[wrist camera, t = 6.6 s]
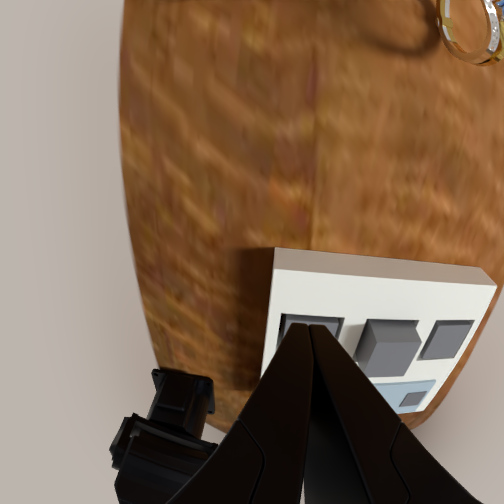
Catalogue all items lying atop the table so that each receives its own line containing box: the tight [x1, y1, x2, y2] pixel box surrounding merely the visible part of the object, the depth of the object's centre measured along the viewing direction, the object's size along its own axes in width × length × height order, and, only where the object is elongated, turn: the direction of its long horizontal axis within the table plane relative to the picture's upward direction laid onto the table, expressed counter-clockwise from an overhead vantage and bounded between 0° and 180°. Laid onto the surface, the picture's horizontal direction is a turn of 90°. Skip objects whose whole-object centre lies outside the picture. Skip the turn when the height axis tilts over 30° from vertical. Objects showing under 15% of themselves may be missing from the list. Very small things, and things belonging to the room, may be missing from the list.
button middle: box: [355, 319, 422, 378], centre depth 19 cm, size 4×4×3 cm
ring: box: [435, 0, 504, 66], centre depth 8 cm, size 7×3×8 cm, turn 1°
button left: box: [280, 313, 339, 343], centre depth 21 cm, size 4×4×3 cm
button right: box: [420, 320, 471, 359], centre depth 21 cm, size 4×4×3 cm
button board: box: [260, 247, 497, 414], centre depth 22 cm, size 16×18×3 cm
